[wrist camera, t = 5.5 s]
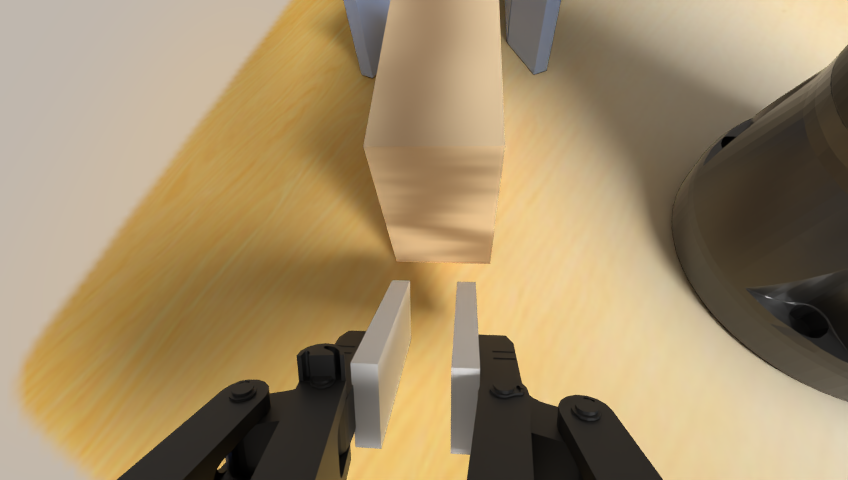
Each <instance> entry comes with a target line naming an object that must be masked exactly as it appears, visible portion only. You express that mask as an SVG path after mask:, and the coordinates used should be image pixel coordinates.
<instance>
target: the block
mask: <svg viewBox="0 0 848 480" xmlns="http://www.w3.org/2000/svg"><path fill="white" fill-rule="evenodd" d="M363 148H364V151H365V154H366V158H367V161H368V165H369V168H370V172H371V175H372V179H373V182H374V185H375V189H376V192H377V196H378V199H379V203H380V206H381V209H382V213H383V216H384V220H385V223H386V227H387V230H388V233H389V237H390V240H391V244H392V247H393V251H394V254H395V258H396V261H397V262H437V263H479V264H490V259H491V251H492V244H493V236H494V228H495V221H496V213H497V205H498V198H499V190H500V182H501V175H502V167H503V159H504V152H505V128H504V105H503V81H502V58H501V34H500V10H499V0H390V5H389V10H388V16H387V21H386V27H385V32H384V37H383V43H382V48H381V54H380V59H379V64H378V70H377V75H376V80H375V86H374V91H373V97H372V102H371V107H370V113H369V118H368V124H367V129H366V134H365V140H364V145H363Z"/></svg>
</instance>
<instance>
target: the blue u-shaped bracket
mask: <svg viewBox="0 0 848 480" xmlns="http://www.w3.org/2000/svg"><path fill="white" fill-rule="evenodd" d="M343 1H344V5H345V9H346V13H347V17H348V21H349V25H350V29H351V33H352V37H353V42H354V46H355V50H356V54H357V58H358V62H359V66H360V70H361V74H362V75H365V76H368V77H371V78H373V77H374V76H375V75H376V74H377V70H378V64H379V59H380V54H381V48H382V43H383V37H384V32H385V27H386V21H387V16H388V10H389V5H390V0H343ZM560 3H561V0H505V17H506V36H507V41H508V44H509V45H510V47H511V48H512V49H513V50H514V51H515V53H516V54H517V55H518V56H519V57H520V59H521V60H522V61H523V62H524V63H525V65H526V66H527V67H528V68H529V69H530V71H531V72H532V73H533V74H537V73H540V72H543V71H546V70H547V66H548V61H549V56H550V51H551V47H552V42H553V37H554V32H555V27H556V22H557V18H558V13H559V8H560Z"/></svg>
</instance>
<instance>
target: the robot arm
mask: <svg viewBox="0 0 848 480" xmlns="http://www.w3.org/2000/svg"><path fill="white" fill-rule="evenodd" d="M672 231H673V239H674V243H675V248H676V251H677V254H678V257H679V260H680V262H681V265H682V267H683V270H684V272H685V274H686V276H687V278H688V280H689V281H690V283H691V285H692V286H693V288H694V290H695V291H696V293H697V294H698V296H699V297H700V299H701V300H702V301H703V302H704V304H705V305H706V306H707V308H708V309H709V310H710V311H711V312H712V314H713V315H714V316H715V317H716V318H717V319H718V320H719V321H720V322H721V324H722V325H723V326H724V327H725V328H726V329H727V330H728V331H729V332H731V333H732V334H733V335H734V336H735V337H736V338H737V339H738V340H739V341H741V342H742V343H743V344H744V345H745V346H747V347H748V348H749V349H750V350H752V351H753V352H754V353H756V354H757V355H758V356H760V357H761V358H762V359H764V360H765V361H767V362H768V363H770V364H771V365H773V366H774V367H776V368H777V369H779V370H781V371H782V372H784V373H786V374H787V375H789V376H791V377H793V378H794V379H796V380H798V381H800V382H802V383H804V384H806V385H808V386H810V387H812V388H814V389H817V390H819V391H821V392H823V393H826V394H828V395H831V396H833V397H836V398H839V399H842V400H844V401H847V402H848V45H847V46H846V47H845V48H844V49H843V51H842V52H841V53H840V54H839V55H838V56H837V57H836V58H835V59H834V60H833V61H832V62H831V63H830V64H829V65H828V66H827V67H826V68H824V69H823V70H821V71H820V72H818V73H817V74H815V75H814V76H812V77H811V78H809V79H808V80H806V81H804V82H803V83H801V84H800V85H798V86H797V87H795V88H794V89H792V90H791V91H789V92H788V93H786V94H785V95H783V96H782V97H780V98H779V99H777V100H776V101H774V102H773V103H771V104H770V105H769V106H767V107H766V108H764V109H763V110H762V111H760V112H759V113H758V114H757V115H756V116H754V117H753V118H752V119H750V120H747V121H745V122H743V123H741V124H740V125H738V126H736V127H735V128H733V129H731V130H730V131H728V132H727V133H725V134H724V135H723V136H721V137H720V138H719V139H718V140H717V141H716V142H715V143H714V144H712V145H711V146H710V147H709V148H708V149H707V150H706V152H705V153H704V154H703V155H702V157H701V158H700V159H699V161H698V162H697V163H696V165H695V166H694V167H693V169H692V170H691V171H690V173H689V174H688V176H687V177H686V178H685V180H684V181H683V183H682V185H681V187H680V188H679V191H678V193H677V196H676V199H675V202H674V207H673V213H672ZM410 341H411V306H410V281H408V280H392V282H391V284H390V286H389V288H388V290H387V292H386V294H385V296H384V298H383V300H382V302H381V304H380V306H379V307H378V309H377V311H376V313H375V315H374V317H373V319H372V321H371V323H370V325H369V327H368V329H367V331H348V332H346V333H345V334H343V335H342V336H340V337H339V338H338V340H337V342H336V343H335V344H326V343H325V344H316V345H313V346H310V347H307V348H305V349H303V350H302V351H300V352H299V353H298V355H297V364H298V374H299V383H298V385H297V387H296V389H294V390H289V391H284V392H277V393H271V394H270V393H269V386H268V385H267V384H266V383H265V382H263V381H260V380H245V381H244V380H243V381H239V382H237V383H235V384H232V385H230V386H228V387H227V388H225V389H224V390H222V391H221V392H220V393H219V394H217V395H216V396H215V397H214V398H213V399H211V400H210V401H209V402H208V403H207V404H206V405H204V406H203V407H202V408H201V409H200V410H198V411H197V412H196V413H195V414H194V415H193V416H191V417H190V418H189V419H188V420H187V421H186V422H184V423H183V424H182V425H181V426H180V427H178V428H177V429H176V430H175V431H174V432H173V433H171V434H170V435H169V436H168V437H167V438H165V439H164V440H163V441H162V442H161V443H160V444H158V445H157V446H156V447H155V448H154V449H153V450H151V451H150V452H149V453H148V454H147V455H145V456H144V457H143V458H142V459H141V460H140V461H138V462H137V463H136V464H135V465H134V466H132V467H131V468H130V469H129V470H128V471H127V472H125V473H124V474H123V475H122V476H121V477H120V478H118V479H117V480H346V479H347V474H348V470H349V465H350V461H351V450H350V443H351V440H352V437H353V435H354V432H355V445H356V447H365V448H379V449H381V448H382V444H383V441H384V437H385V433H386V430H387V426H388V422H389V419H390V415H391V411H392V407H393V404H394V400H395V396H396V393H397V389H398V385H399V382H400V378H401V374H402V371H403V367H404V363H405V360H406V356H407V352H408V349H409V345H410ZM451 453H453V454H468V455H470V461H469V468H468V476H467V480H663V479H662V478H661V476H660V475H659V474H658V472H657V471H656V470H655V468H654V467H653V465H652V464H651V463H650V461H649V460H648V459H647V457H646V456H645V454H644V453H643V452H642V450H641V449H640V448H639V446H638V445H637V444H636V442H635V441H634V439H633V438H632V437H631V435H630V434H629V433H628V431H627V430H626V429H625V427H624V426H623V424H622V423H621V422H620V420H619V419H618V418H617V416H616V415H615V413H614V412H613V411H612V410H611V409H610V408H609V407H608V406H607V405H606V404H605V403H603V402H601V401H599V400H597V399H595V398H592V397H589V396H582V395H573V396H567V397H565V398H564V399H562V400H561V401H560V403H559V405H558V407H556V406H553V405H549V404H546V403H543V402H540V401H538V400H536V399H534V398H532V397H531V396H530V395H529V393H528V390H527V388H526V387H525V386H524V385H523V384H522V381H521V377H520V372H519V368H518V363H517V358H516V354H515V349H514V344H513V343H512V342H511V341H510V340H509V339H508V338H507V337H506V336H499V335H478V320H477V301H476V282H457V294H456V308H455V323H454V338H453V353H452V367H451ZM224 458H225V459H226V463H225V464H224V465H223V466H222V467H221V468H220V469H219V470H217V468H218V466H219V465H220V463H221V462H222V461H223V459H224Z"/></svg>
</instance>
